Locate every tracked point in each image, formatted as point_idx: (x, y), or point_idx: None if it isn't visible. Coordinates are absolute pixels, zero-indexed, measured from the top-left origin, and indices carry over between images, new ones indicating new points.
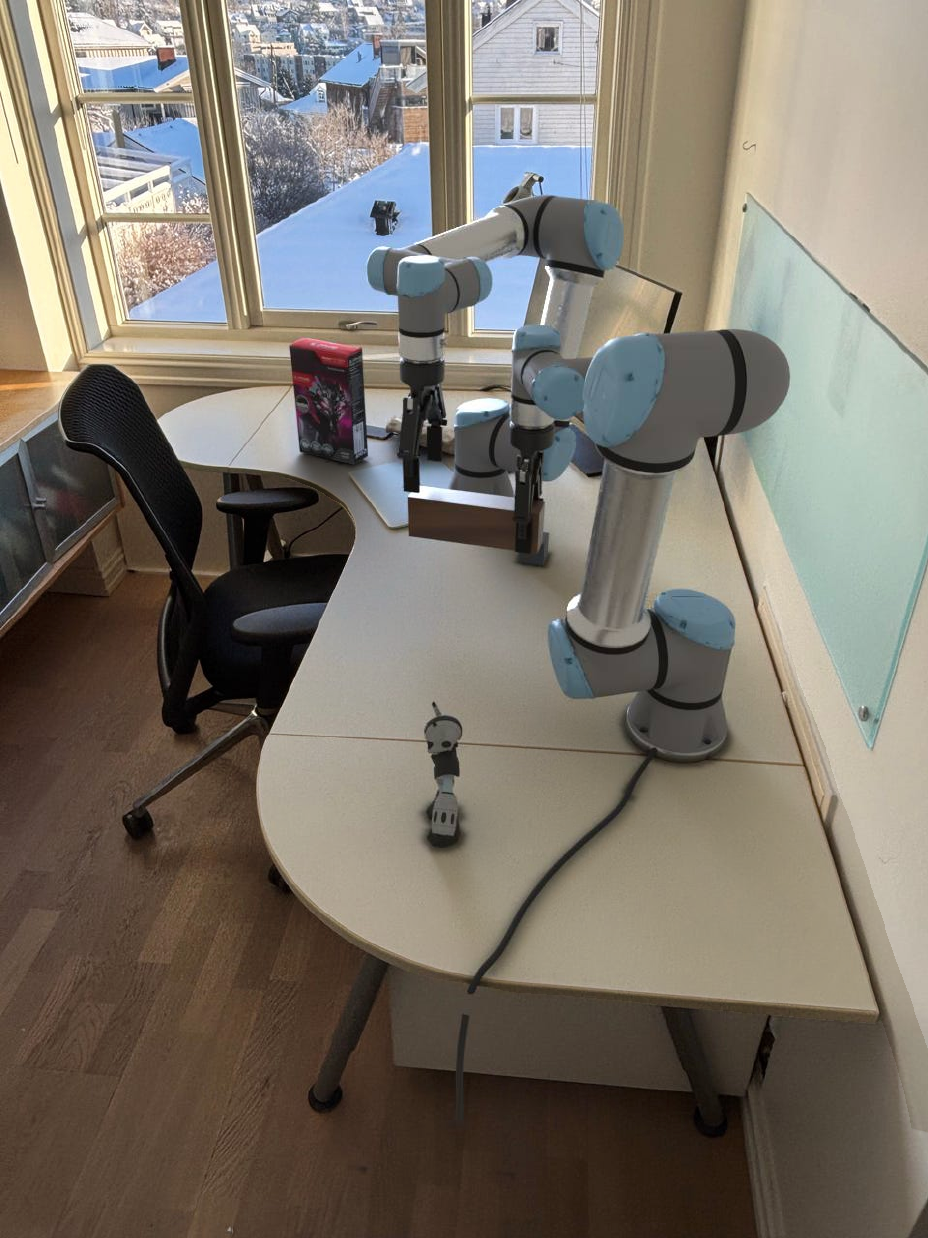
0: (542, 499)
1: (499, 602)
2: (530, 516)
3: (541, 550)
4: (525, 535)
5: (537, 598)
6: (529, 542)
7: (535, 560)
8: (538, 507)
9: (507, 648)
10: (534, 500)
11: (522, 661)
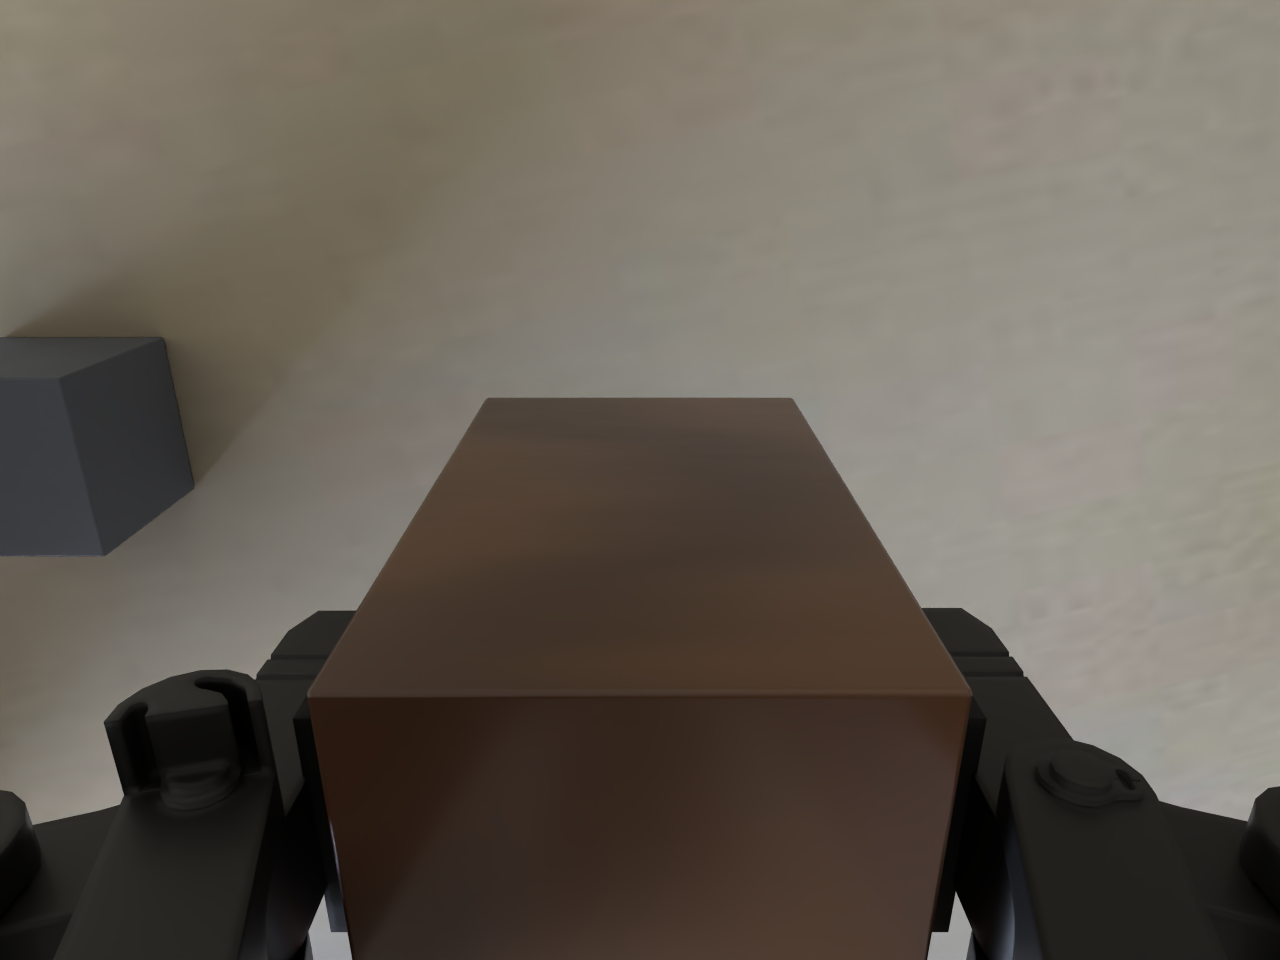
0: (133, 729)
1: None
2: (1103, 824)
3: (100, 383)
4: (1004, 650)
5: (557, 293)
6: None
7: (157, 397)
8: (660, 762)
9: (1122, 352)
10: (354, 881)
11: (1248, 240)
